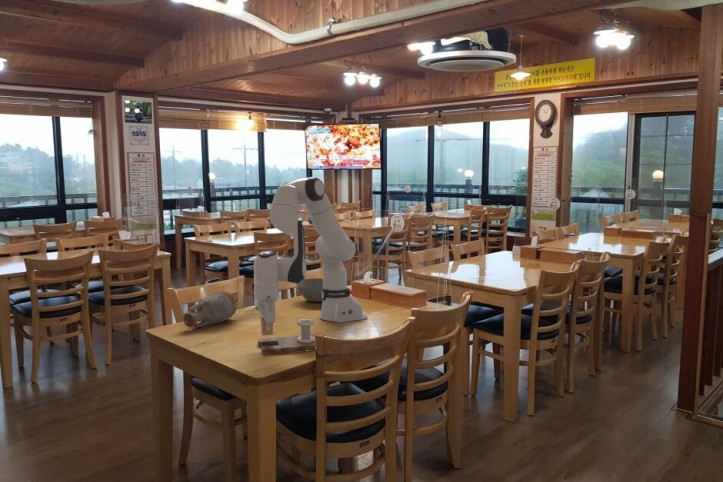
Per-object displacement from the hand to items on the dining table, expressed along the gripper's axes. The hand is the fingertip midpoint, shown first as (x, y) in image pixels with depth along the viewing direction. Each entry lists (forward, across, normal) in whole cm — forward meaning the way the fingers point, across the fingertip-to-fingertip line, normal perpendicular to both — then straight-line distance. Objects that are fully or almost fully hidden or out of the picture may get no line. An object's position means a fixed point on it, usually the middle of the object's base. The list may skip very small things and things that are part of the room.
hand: (266, 328), depth 224 cm
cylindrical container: (+8, +68, -7) cm, 69 cm away
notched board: (+8, 0, -9) cm, 12 cm away
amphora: (+8, +43, +18) cm, 47 cm away
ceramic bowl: (+8, +73, -37) cm, 82 cm away
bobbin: (+6, 0, -15) cm, 17 cm away
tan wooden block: (+2, 0, 0) cm, 2 cm away
